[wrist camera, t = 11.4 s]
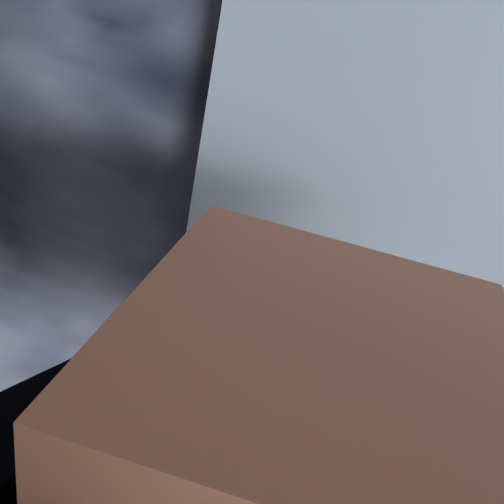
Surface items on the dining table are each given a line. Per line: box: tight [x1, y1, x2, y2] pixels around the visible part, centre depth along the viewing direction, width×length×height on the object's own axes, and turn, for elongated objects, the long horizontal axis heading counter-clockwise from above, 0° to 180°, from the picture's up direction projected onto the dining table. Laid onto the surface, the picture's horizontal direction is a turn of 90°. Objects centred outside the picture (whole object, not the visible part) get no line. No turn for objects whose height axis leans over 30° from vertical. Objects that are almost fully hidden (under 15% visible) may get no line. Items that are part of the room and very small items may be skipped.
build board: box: [186, 0, 504, 288], centre depth 13 cm, size 24×18×1 cm
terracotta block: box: [13, 205, 504, 504], centre depth 6 cm, size 5×5×5 cm
